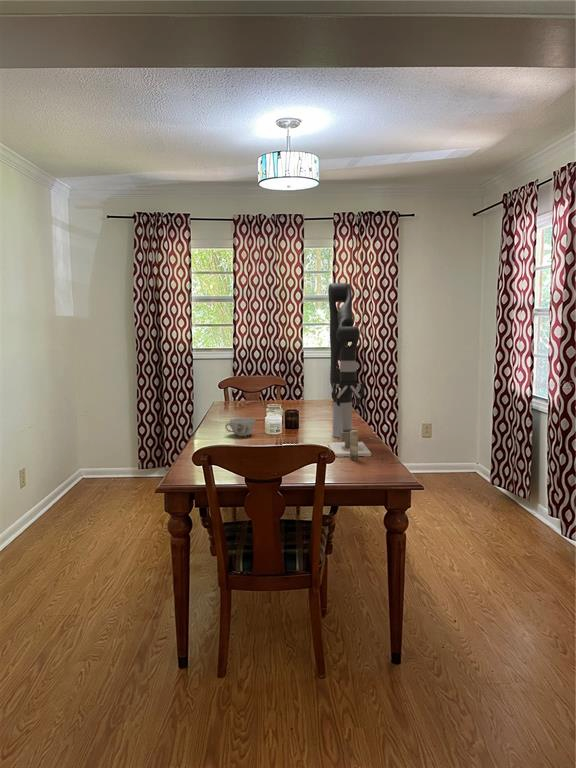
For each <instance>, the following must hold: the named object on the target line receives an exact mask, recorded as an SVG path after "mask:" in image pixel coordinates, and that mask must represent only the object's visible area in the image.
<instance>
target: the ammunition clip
mask: <svg viewBox="0 0 576 768" xmlns="http://www.w3.org/2000/svg"><path fill="white" fill-rule="evenodd" d="M283 444H286V445H287V444H290V445H291V444H294V445H295V444H298V445H299V439H298V436H297V435H296V436H295V439H294V437H293V436H292V437H291V439H290V437H289V436H288V437H287V439H286V437H284V438H283V439H282V438H281V437H280V438H279V440H278V438H276V439H275V444H274V446H275V445H278V446H279V445H282V446H283Z"/></svg>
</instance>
